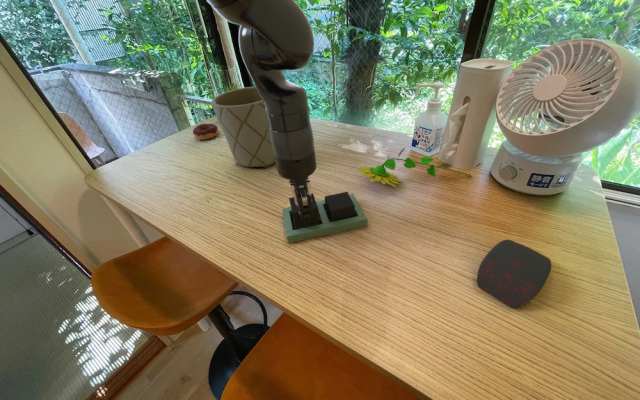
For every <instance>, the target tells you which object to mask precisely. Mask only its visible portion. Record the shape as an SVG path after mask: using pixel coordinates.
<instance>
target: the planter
mask: <svg viewBox="0 0 640 400" xmlns="http://www.w3.org/2000/svg"><path fill="white" fill-rule="evenodd" d="M211 105H212V108H213V110H214V112H215V116H216V118H217V121H218V123H219V126H220V128H221V130H222V133H223V135H224V137H225V139H226V143H227V145H228V147H229V150H230V152H231V155H232V156H233V157H232V158H234V161H235V163H236V164H237V165H240V166H242V167H248V168H255V167H262V168H265V169H266V168H269V167H270V166H272V165H274V164H276V162H275V157H274V153H273V149H272V144H271V138H270V128H269V124H268V119H267V115H266V110H265V105H264V102H263V100H262V98H261V96H260V94H259V92H258V90H257V88H256V86H255V85H254V86H246V87H240V88H235V89H232V90H228V91H225V92H222V93H220V94H218V95H216V96H214V98H212V100H211Z"/></svg>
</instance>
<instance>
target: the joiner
mask: <svg viewBox="0 0 640 400" xmlns="http://www.w3.org/2000/svg"><path fill="white" fill-rule="evenodd" d="M349 196H350V198H351V200H352V201H353V203H354V205H355V217H352V218H347V219H343V220H338V221H334V222H330V220H329V217H328V215H327V212H326V206H325V199H321V200H317V201H316V200H315V201H316V203H317V206H318V212H319V220H320V224H316V225H312V226H310V227H305V228H304V227H302V228H297V229H293V223H292V218H293V215H292V210H291V206H288V207H284V208H283V207H282V208H281V210H282V216H283V223H284V230H285V235H286V241H287V243H288V244H291V243H294V242H295V243H296V242H300V241H304V240H308V239H309V240H310V239H313V238H318V237H322V236H327V235H331V234H337V233H340V232H343V231H349V230H353V229H358V228H363V227H367V226H368V218H367V216H366V214H365V212H364V210H363V209H362V207H361V205H360V204H359V202H358V200H357V198H356V196H355V194H354V193H351V194H349Z"/></svg>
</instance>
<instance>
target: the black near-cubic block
mask: <svg viewBox="0 0 640 400" xmlns="http://www.w3.org/2000/svg"><path fill="white" fill-rule="evenodd" d="M349 195H350V194H349V192H348V191H344V192H339V193H334V194H330V195H325V196H324V200H325V206H326V210H325V212H326V214H327V217H328V220H329V222H334V221H338V220H343V219H347V218H352V217H355V205H354V203H353V201H352V200H351V198H350V196H349Z"/></svg>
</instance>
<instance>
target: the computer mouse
mask: <svg viewBox="0 0 640 400" xmlns="http://www.w3.org/2000/svg"><path fill="white" fill-rule="evenodd" d="M551 269H552V261H551V259H550V258H549V257H547V256H545V255H544V254H542V253H540V252H538V251H537V250H534V249H533V248H531V247H529V246H526V245H524V244H521V243H519V242H516V241H514V240H511V239H504V240H501V241H500V242H498V243H497V244H496V245H494V247H492V249H490V250H489V251H488V252H487V253H486V254H485V256H484V258H483V259H482V260H481V262H480V264H479V267H478V271H477V276H476V284H477V286H478V288H479V289H481V290H482V291H484V292H486V293H487V294H489V295H491V296H492V297H494V298H495V299H497V300H499V301H500V302H502V303H503V304H505V305H506V306H508V307H509V308H513V309H515V308H519V307H521V306H523V305H525V304H527V303H529V302H530V301H531V300H533V299H534V298H536V296H537V295H538V294H539V293H540V292H541V291H542V289H543V287H544V286H545V284H546V282H547V280H548V278H549V275H550V274H551Z"/></svg>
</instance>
